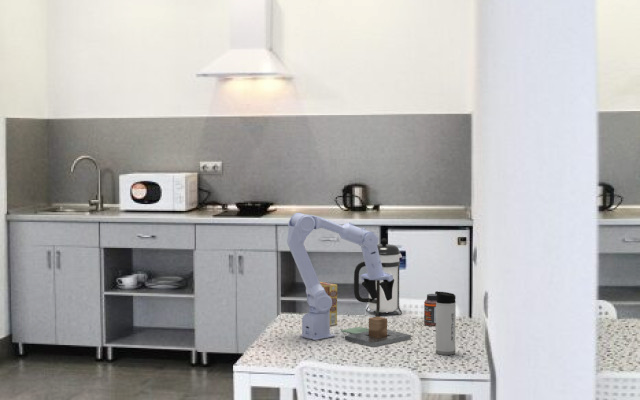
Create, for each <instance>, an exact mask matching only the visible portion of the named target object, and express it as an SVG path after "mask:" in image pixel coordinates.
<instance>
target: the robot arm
mask: <svg viewBox="0 0 640 400" xmlns="http://www.w3.org/2000/svg"><path fill="white" fill-rule="evenodd" d="M287 227H288V230H287V240H286V242H287V246H288V248H289V251H290V253H291V255H292V258H293V259H294V262H295V264H296V267H297V270H298V272H299V274H300V276H301V279H302V281H303V284H304V285H305V294H306V302H307V304H308V306H309V309H308V310H309V312H307V313H304V314H303V316H302V319H301V321H302V322H301V332H302V333H301V335H300V337H301V338H306V339H308V340H314V341H317V340H323V339H327V338H328V339H329V338H332V337H334V338H335V336H336V335H335V334H332V333H331V330H330V328H331V326H330V308H331V306H332V299H331V297H330V296H328V295H327V294H326V292H325V290H324V288H323V287H322V286H321V284H320V282H321V281H320V280H319V278H318V275H317V272H316V271H315V268H314V266H313V263H312V261H311V258H310V256H309V254H308V251H307V249H306V247H305V245H304V243H305V242H306V241H305V240H306V238H307V237H308V236H309V235H310V234H311V233H312V232H313V231H314V230H319V229H325V230H326V231H331V232H334V233H337V234H339V236H340V239H342V240H345V241H348V242H351V243H353V244H356V245H359V246H360V249H361V253H362V256H363V260H364V261H363V262H365V265H366V266H365V269H366V273H363V274H361V275H360V278H361V281H362V282H361V285H362V286H363V287H364V288H365V290H366V291H367V292H368V295H369V294H370V296H371V298H372V300H374V299H376V298H377V291H376V280H383V282H381V283H379V284H380V286H381V287H382V289H383V291H384V294H385V297H386V299H387V300H390V299H392V288H393V283H394V279H393V276H392V274H387V273H385V271H383V267H382V263H381V259H380V255H379V251H378V248H377V244H379V237H378V236H377V234H375V233H374V232H373V231H370V230H366V228H365V227H358V226H356V225H355V223H352V222H349V223H347V222H346V223H344V224H339V223H337V222H335V221H332V220H330V219H326V218H324V217H322V216H318V215H312V214H304V213H303V212H296V213H293V215H292V216H291V217H290V219H289V220H288V223H287Z"/></svg>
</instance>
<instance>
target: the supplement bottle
mask: <svg viewBox="0 0 640 400" xmlns="http://www.w3.org/2000/svg"><path fill="white" fill-rule="evenodd" d="M436 297H437V294H435V293H428V294H426V299H425V300H424V301H423V303H424V304H423V305H424V306H423V308H424V309H423V323H424V325H426V326H429V325H431V327H436V326H435V325H436V300H437V299H436Z"/></svg>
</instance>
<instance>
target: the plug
mask: <svg viewBox="0 0 640 400" xmlns="http://www.w3.org/2000/svg"><path fill="white" fill-rule="evenodd" d="M368 329H369V336H370V337H374V338H382V337H387V330H388V318H386V317H382V316H379V317H378V316H374V317H373V316H372V317H369V318H368Z"/></svg>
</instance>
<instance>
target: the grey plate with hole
mask: <svg viewBox="0 0 640 400" xmlns="http://www.w3.org/2000/svg"><path fill="white" fill-rule="evenodd" d="M411 335H412V334H408V333H403V332H398V331H395V330H391V329H387V337H382V338H374V337H370V336H369V331H367V332H362V333H357V334H351V333H350V334H348V335H347V334H346V335H344V341H347V342H351V343H355V344H359V345H362V346H367V347H372V348H376V347H381V346H386V345H390V344H394V343H400V342H404V341H405V342H406V341H409V340H411V338H412V336H411Z"/></svg>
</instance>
